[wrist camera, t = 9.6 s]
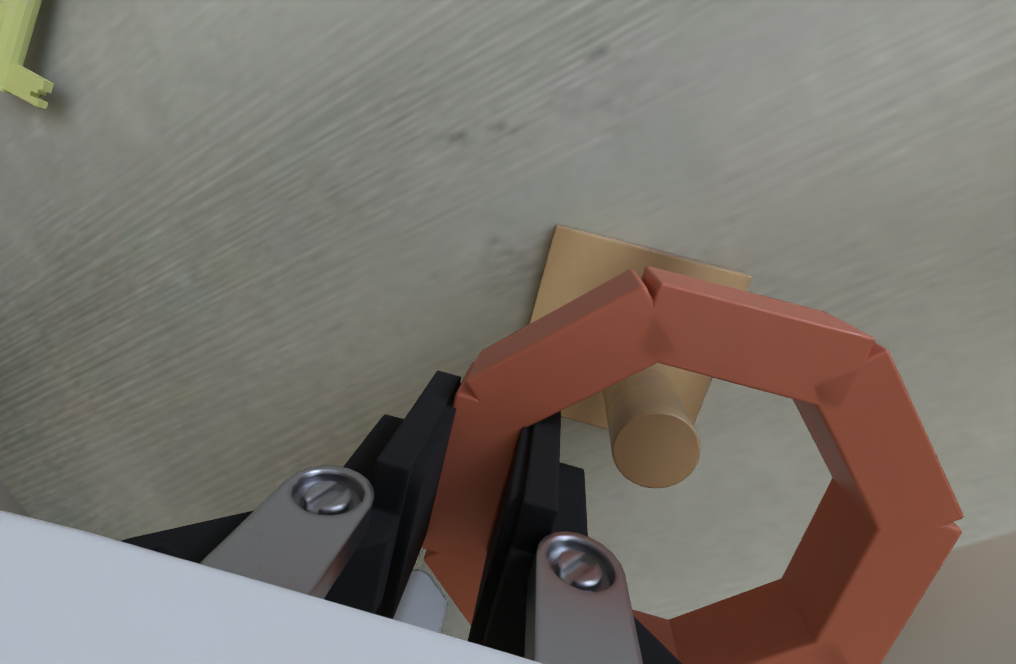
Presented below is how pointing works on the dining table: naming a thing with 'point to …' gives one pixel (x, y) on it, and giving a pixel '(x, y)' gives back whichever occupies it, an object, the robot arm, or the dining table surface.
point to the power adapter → (422, 603)
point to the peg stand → (651, 392)
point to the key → (20, 51)
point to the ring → (749, 362)
